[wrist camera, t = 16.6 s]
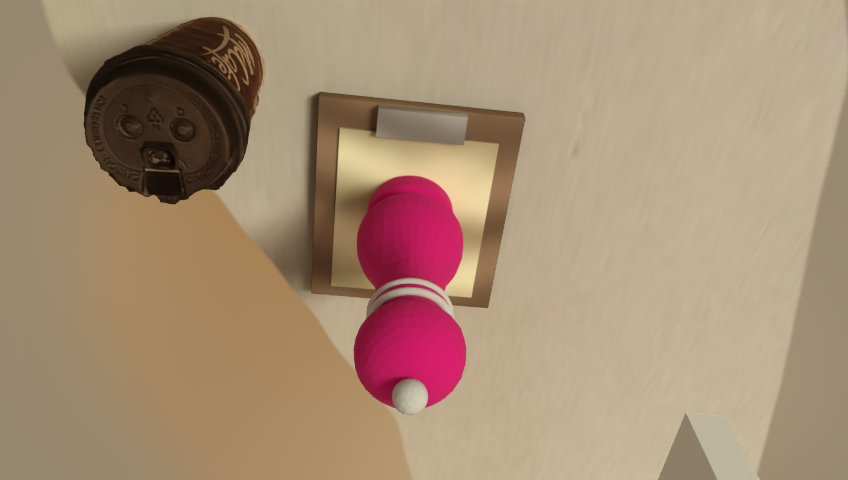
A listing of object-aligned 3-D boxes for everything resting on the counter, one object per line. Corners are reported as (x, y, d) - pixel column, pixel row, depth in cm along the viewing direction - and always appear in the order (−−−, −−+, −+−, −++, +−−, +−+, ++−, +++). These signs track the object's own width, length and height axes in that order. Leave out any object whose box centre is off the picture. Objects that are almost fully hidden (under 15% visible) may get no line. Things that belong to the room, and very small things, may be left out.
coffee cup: (229, 150, 49) (177, 244, 38) (126, 72, 47) (35, 149, 35) (305, 60, 46) (272, 133, 35) (199, -30, 43) (126, 19, 32)
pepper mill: (479, 218, 51) (514, 415, 34) (404, 271, 53) (401, 481, 36) (416, 148, 48) (419, 324, 31) (339, 208, 51) (303, 403, 33)
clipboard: (320, 91, 47) (317, 100, 46) (523, 113, 48) (527, 122, 47) (312, 286, 55) (310, 299, 54) (486, 300, 56) (488, 313, 55)
